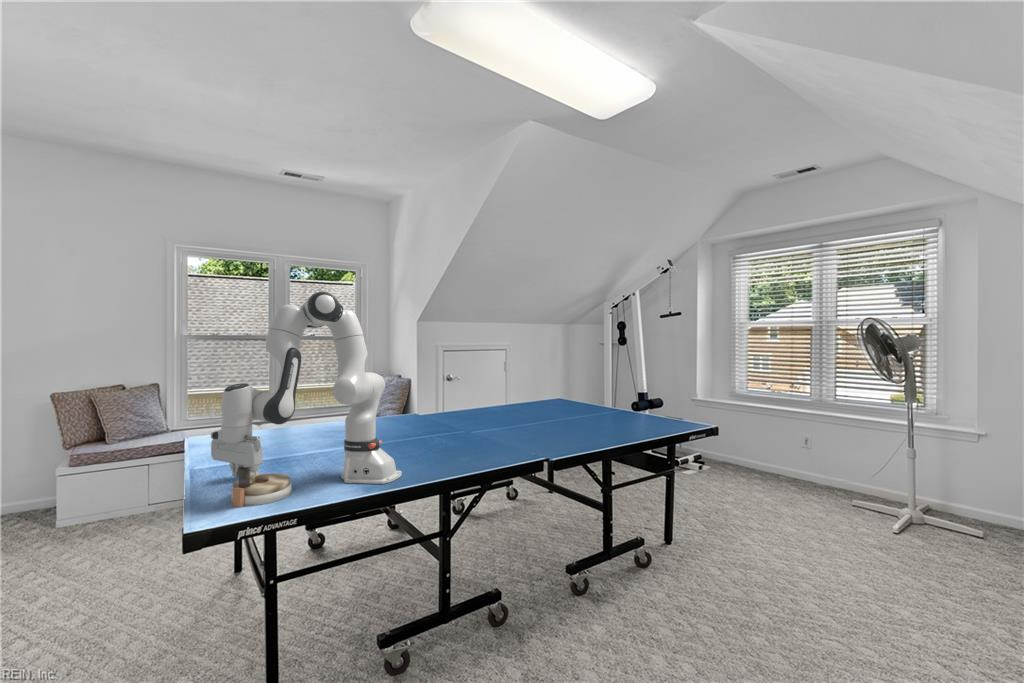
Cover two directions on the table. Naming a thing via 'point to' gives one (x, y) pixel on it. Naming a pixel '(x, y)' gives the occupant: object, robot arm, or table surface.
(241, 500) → the stand
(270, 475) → the tan disc with handle
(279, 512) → the table surface
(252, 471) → the beer glass
